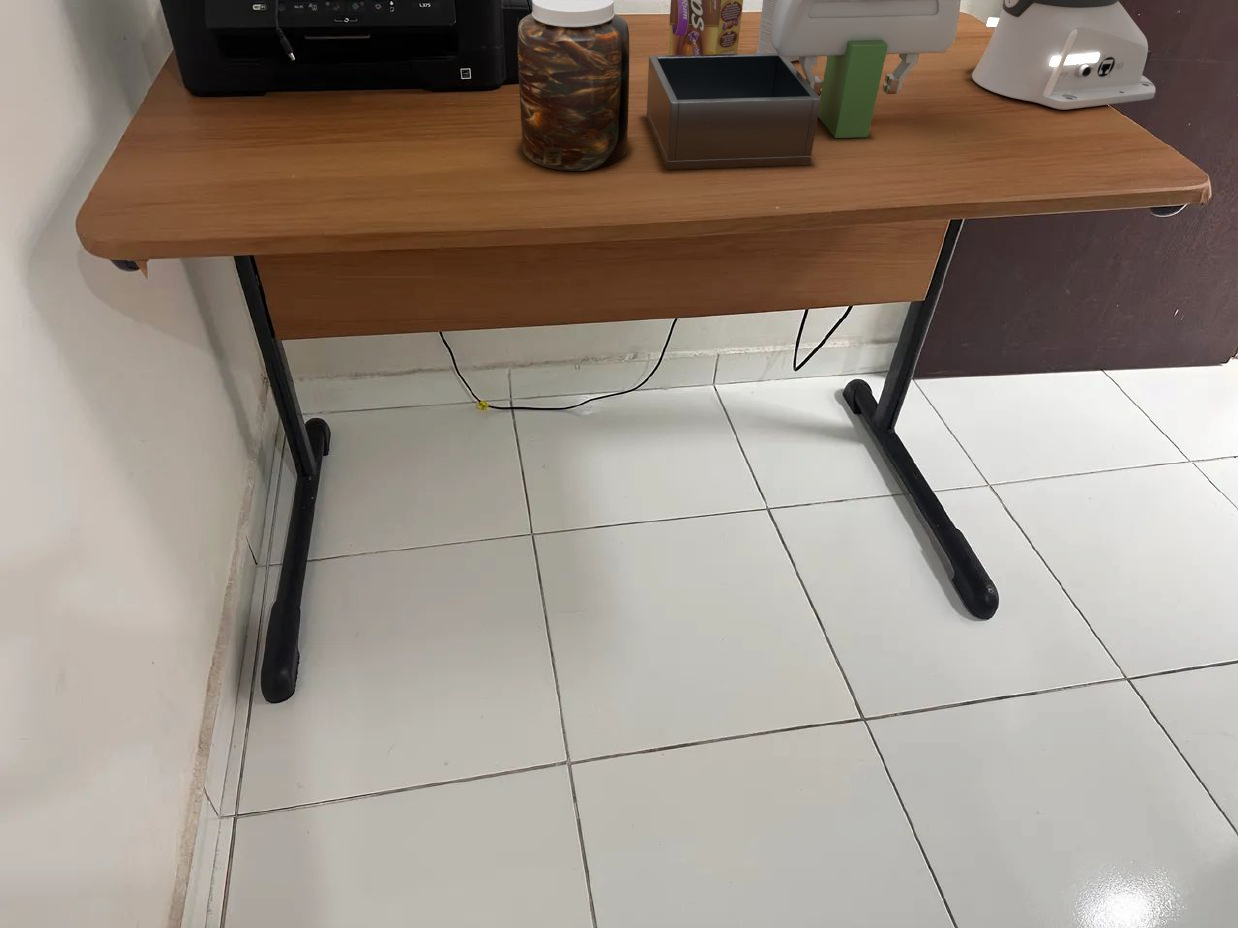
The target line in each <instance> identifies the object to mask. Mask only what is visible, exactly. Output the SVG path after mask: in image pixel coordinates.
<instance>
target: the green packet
mask: <svg viewBox="0 0 1238 928" xmlns="http://www.w3.org/2000/svg"><path fill="white" fill-rule="evenodd" d="M887 48H888V44H887V43H886V42H884V41H883V40H857V41H848V43H847V48H846V52H845V55H842V56H826V62H825V68H824V75H823V79H822V81H823V84H822V88H821V95H820V96H819V97H820V98H821V101H820V107H819V113H818V119H820V121H821V122H822V123H823V125H824V126H825V127H826V129H827V130H828V131H829V132H830V134H831V135H832V136H833V137H834V139H850V138H851V139H852V138H854V139H855V138H869V135H870V130H871V126H872V121H873V117H874V112H875V108H876V102H877V99H878V93H879V88H880V84H881V80H882V76H883V75H882V74H883V72H884V71H883V70H884V65H885V61H886V57H887V54H886V52H887Z"/></svg>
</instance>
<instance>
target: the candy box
mask: <svg viewBox="0 0 1238 928" xmlns="http://www.w3.org/2000/svg"><path fill="white" fill-rule="evenodd" d="M743 5H744V0H670V7H669V12H670V13H669V23H668V24H669V26H668V44H667V55H709V54H738V49H739V42H740V32H741V23H742V15H743Z"/></svg>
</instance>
